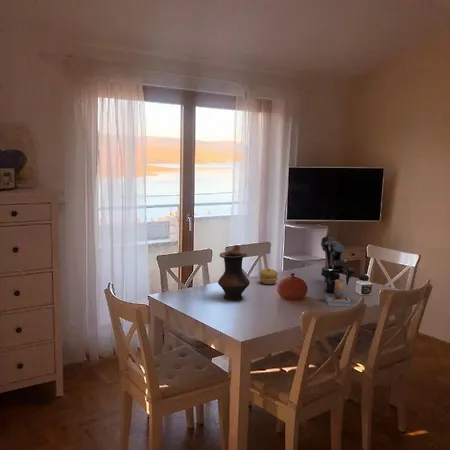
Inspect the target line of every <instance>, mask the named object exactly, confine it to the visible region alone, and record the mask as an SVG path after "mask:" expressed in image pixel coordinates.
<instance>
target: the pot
mask: <svg viewBox="0 0 450 450" xmlns="http://www.w3.org/2000/svg"><path fill="white" fill-rule="evenodd" d="M278 274H279V273H278V271H276V270H275V269H270V268H264V269H262V270H261V271H260V272H259V275H260V276H258V277H259V280H260V282H261V283H262V284H264V285H273V284H276V282H277V281H278Z"/></svg>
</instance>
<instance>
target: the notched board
mask: <svg viewBox="0 0 450 450" xmlns="http://www.w3.org/2000/svg"><path fill="white" fill-rule="evenodd" d="M343 298H344V301H333V300H332V299H333V297H330V296H329V294H326V295H325V301H326V303H327V304H328V306H329V307H345V308H347V307H350V308H351V305H352V301H351V300H350V299H349V297H348V296H347V295H344V297H343Z"/></svg>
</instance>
